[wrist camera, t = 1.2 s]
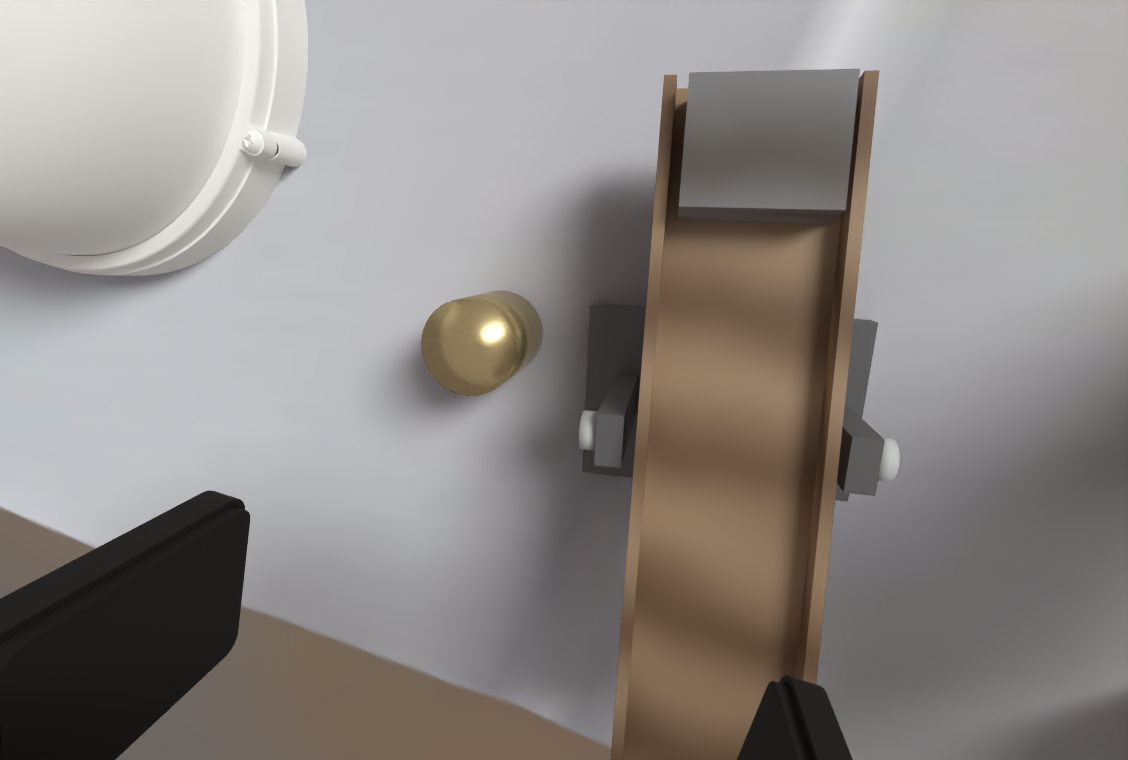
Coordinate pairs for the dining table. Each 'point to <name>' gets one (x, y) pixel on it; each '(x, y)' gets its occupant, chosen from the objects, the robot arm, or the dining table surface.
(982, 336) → the dining table surface
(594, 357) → the beam stand
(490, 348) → the brass weight
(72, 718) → the robot arm
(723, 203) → the balance beam
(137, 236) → the dome cover
